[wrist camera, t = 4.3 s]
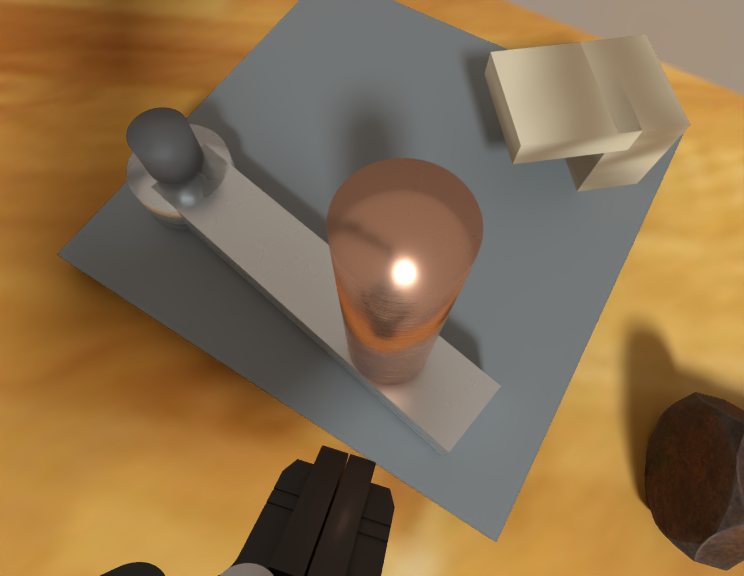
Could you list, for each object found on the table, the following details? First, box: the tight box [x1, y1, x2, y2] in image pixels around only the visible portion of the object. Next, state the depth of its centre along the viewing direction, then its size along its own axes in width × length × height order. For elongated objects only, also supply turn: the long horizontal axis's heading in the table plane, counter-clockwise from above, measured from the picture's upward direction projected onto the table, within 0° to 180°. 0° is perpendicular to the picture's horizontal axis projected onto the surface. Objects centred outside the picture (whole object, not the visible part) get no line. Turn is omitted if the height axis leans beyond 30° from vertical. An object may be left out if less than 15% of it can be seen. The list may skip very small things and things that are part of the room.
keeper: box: [485, 35, 691, 191], centre depth 21 cm, size 7×5×4 cm
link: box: [126, 124, 501, 455], centre depth 15 cm, size 18×4×11 cm, turn 48°
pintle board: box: [57, 0, 683, 542], centre depth 21 cm, size 22×22×6 cm
